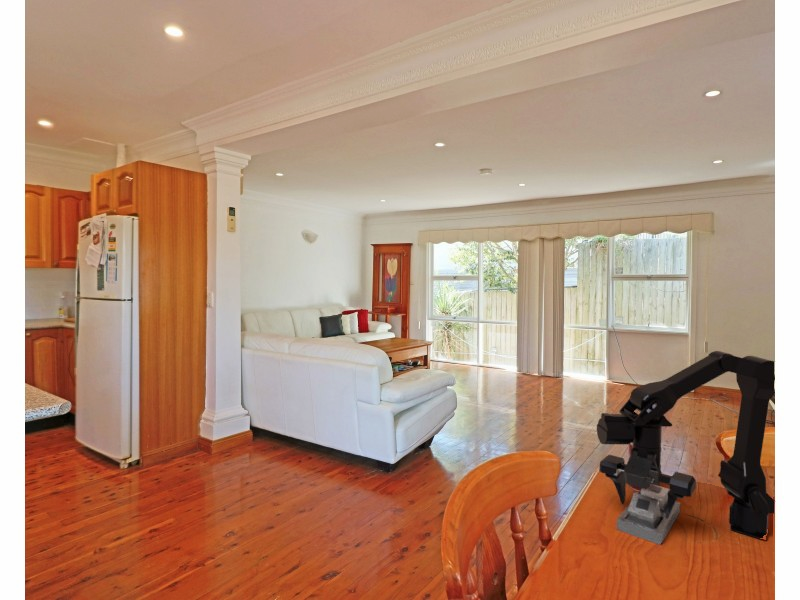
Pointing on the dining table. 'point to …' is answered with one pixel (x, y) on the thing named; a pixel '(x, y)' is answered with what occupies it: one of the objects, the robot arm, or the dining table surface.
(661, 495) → the nut
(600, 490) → the dining table surface
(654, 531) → the grey flat frame
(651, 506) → the block
